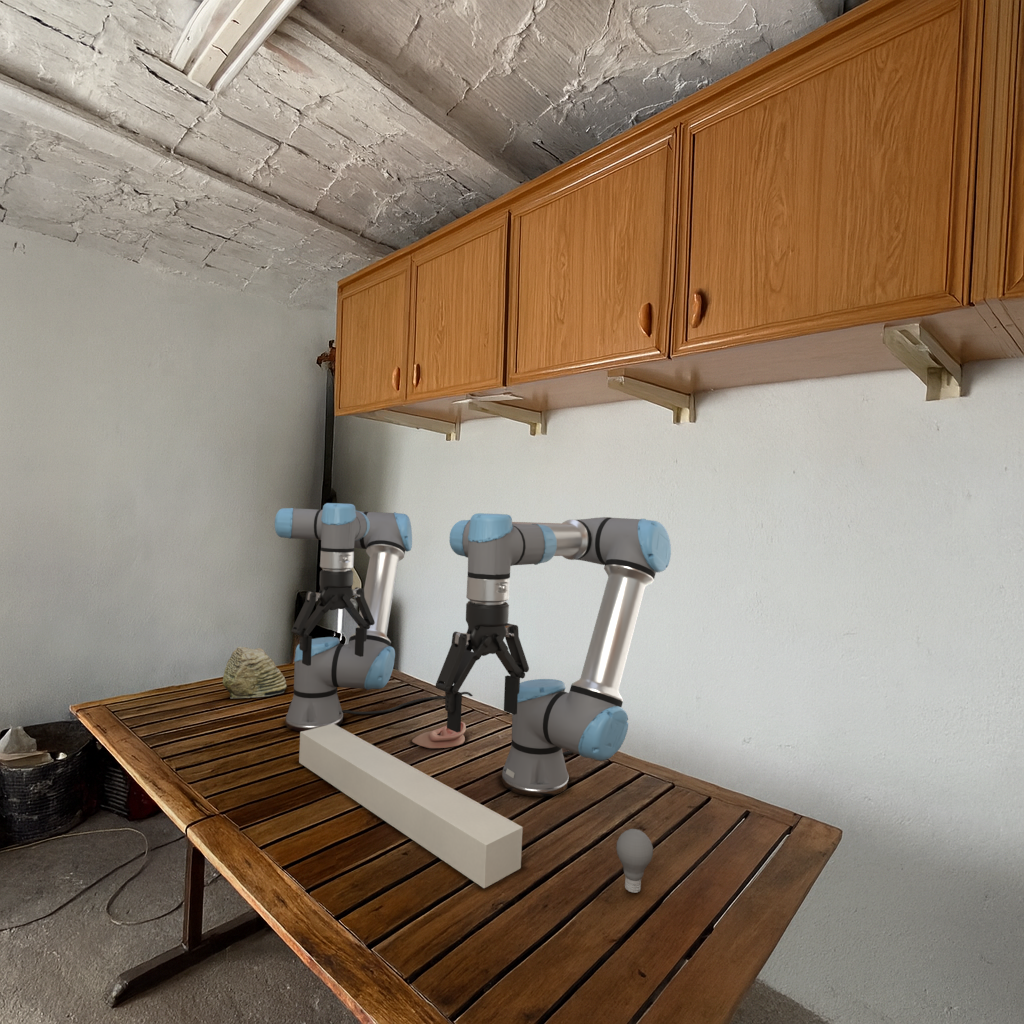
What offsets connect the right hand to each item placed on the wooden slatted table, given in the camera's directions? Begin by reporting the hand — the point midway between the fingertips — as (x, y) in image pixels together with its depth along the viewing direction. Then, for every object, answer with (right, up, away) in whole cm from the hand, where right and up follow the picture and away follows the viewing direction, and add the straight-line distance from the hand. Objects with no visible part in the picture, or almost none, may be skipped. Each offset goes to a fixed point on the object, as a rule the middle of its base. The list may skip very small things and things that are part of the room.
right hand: (483, 720), depth 112 cm
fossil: (-75, -20, +86) cm, 116 cm away
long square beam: (-19, -24, +19) cm, 36 cm away
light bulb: (+25, -26, -6) cm, 37 cm away
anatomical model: (-14, -24, +55) cm, 62 cm away
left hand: (-37, +2, +36) cm, 52 cm away
